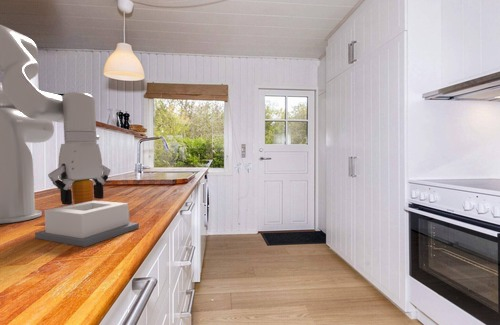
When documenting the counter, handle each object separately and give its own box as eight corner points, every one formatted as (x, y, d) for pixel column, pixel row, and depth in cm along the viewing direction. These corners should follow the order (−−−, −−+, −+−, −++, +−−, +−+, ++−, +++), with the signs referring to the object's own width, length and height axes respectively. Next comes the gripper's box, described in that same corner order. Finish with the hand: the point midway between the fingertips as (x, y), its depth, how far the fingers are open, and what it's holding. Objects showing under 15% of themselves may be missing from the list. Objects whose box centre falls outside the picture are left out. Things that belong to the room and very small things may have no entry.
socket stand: (35, 238, 60) (33, 210, 60) (93, 222, 73) (92, 199, 73) (84, 247, 54) (83, 215, 53) (138, 228, 67) (138, 203, 66)
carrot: (84, 222, 73) (82, 166, 72) (69, 221, 74) (66, 166, 73) (98, 218, 78) (96, 165, 77) (83, 217, 79) (81, 165, 78)
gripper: (99, 140, 84) (101, 195, 85) (37, 138, 68) (41, 206, 69) (117, 139, 81) (119, 196, 82) (56, 137, 65) (60, 208, 66)
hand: (83, 201), depth 75 cm, fingers open, 8 cm apart
